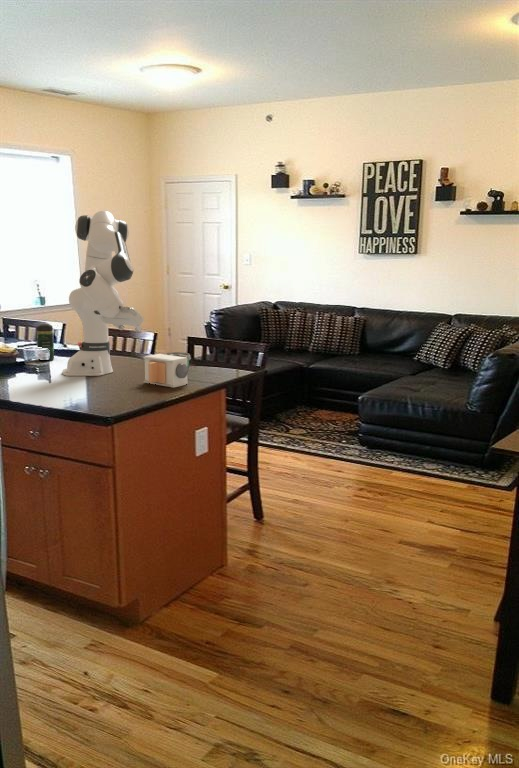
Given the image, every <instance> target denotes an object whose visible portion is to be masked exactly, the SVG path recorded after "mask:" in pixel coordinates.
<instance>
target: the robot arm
mask: <svg viewBox="0 0 519 768" xmlns="http://www.w3.org/2000/svg"><path fill="white" fill-rule="evenodd" d="M115 218H116V217H114V215H113V214H112V213H111V212H109V211H106V210H99V211H97V212H95V213H94V214H93V216H91V215H89V214H88V215H86V214H85V215H84V214H83V215H80V216H79V217H78V218H77V220H76V221H75V226H74V230H75V234H76V237H77V238H78V239H79V240H81V241H84V242H85V241H86V242H87V241H88V242H87V247H86V251H85V252H86V254H85V262H84V263H85V264H84V265H85V266H84V272H82V274H81V275H80V277H79V279H78V281H79V286H80V287H79V288H76V289H73V290H72V291H70V293H69V296H68V303H69V304H68V305H69V306H70V307H71V309H72V310H73V311H74V312H75V313H76V314H77V315H78V317H79V320H80V322H81V325H82V333H83V334H82V335H83V341H78V343H77V346H78V347H79V348H78V349H79V350H78V351H77V352H76V353H74V354H73V355H72V356H71V357H69V358H68V361H67V363H66V364H67V365H66V368H65V369H64V368H63V370H62V373H61V374H62V375H64V376H66V377H70V376H71V377H76V376H77V377H80V376H81V377H83V376H85V377H86V376H87V377H88V376H89V377H90V376H91V377H94V376H97V377H98V376H103V375H107V374H111V373H113V372H114V369H113V367H112V362H111V356H110V353H111V343H110V339H109V325H113V326H114V327H116V328H117V329H118V330H119V331H124V329H125V326H129V327H134V330H135V331H136V332H139V333H141V331H142V329H143V328H142V327H141V326H142V324H143V323H144V321H145V318H144V317H143V316H142V314H141V313H140V312H139V311H138V310H137V309H135V308H134V307H133V306H132V307H131V306H124V301H123V300H122V299H121V298H120V293H119V292H118V290H117V289H116V288H115V286H116V285H117V284H119V283H122V282H123V283H124V282H126V281H129V280H131V278H132V277H133V274H134V266H133V264H132V262H131V259H130V253H129V251H128V248H127V247H128V246H127V244H126V243H127V240H128V238H129V234H130V231H129V227H128V224H127V222H126V221H124V220H121V219H115ZM113 252H114V255H113Z"/></svg>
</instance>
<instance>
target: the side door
mask: <svg viewBox="0 0 519 768" xmlns="http://www.w3.org/2000/svg"><path fill="white" fill-rule="evenodd" d="M148 369H149V382H150V383H153V382H159V383H166V371H165V363H162V362H155V361H149V363H148Z"/></svg>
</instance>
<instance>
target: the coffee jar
mask: <svg viewBox="0 0 519 768" xmlns="http://www.w3.org/2000/svg"><path fill="white" fill-rule="evenodd" d="M36 343H37V347H42V348H48V349H49V350H50V360H49V361H53V360H54V359H55V350H54V349H55V347H54V346H55V345H54V344H55V342H54V328H53V325H52V324H50V323H45V322H44V323H42V322H41V323H40V324H38V325H37V326H36Z"/></svg>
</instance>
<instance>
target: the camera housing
mask: <svg viewBox="0 0 519 768" xmlns="http://www.w3.org/2000/svg"><path fill="white" fill-rule="evenodd" d="M142 357H143V358H142V359H144V380H143V383H145V384H149V383H150V382H149V369H148V363H149V361H155V362H162V363H165V371H166V383H159V382H153V383H150V384H151V385H155V384H156V385H155V386H163V387H166V388H167V387H168V388H177V387H182V386H186V384H187V385H188V383H189V382H188V378H189V376H187V374H188V375H189V369H188V367H187V357H180V356H172V355H166V354H163V353H157V354H156V353H155V354H151V355H145V356H142Z"/></svg>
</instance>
